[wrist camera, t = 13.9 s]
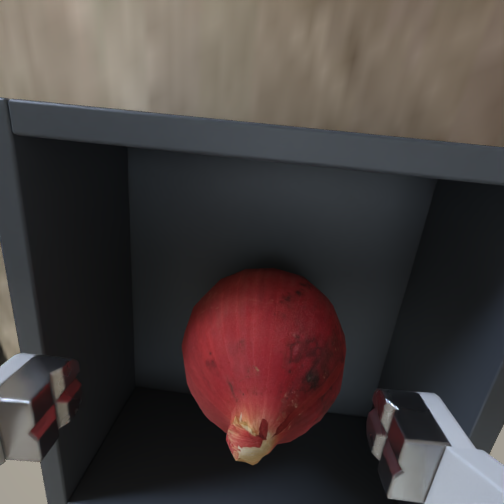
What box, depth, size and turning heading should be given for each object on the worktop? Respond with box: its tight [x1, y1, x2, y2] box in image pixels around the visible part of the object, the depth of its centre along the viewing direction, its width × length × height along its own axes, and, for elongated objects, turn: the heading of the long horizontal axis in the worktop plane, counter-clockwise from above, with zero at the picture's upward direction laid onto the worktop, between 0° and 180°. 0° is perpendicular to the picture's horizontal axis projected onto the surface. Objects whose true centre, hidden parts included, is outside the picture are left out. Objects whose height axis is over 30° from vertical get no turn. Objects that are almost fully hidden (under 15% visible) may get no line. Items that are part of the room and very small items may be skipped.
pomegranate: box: [182, 268, 346, 465], centre depth 11 cm, size 6×6×8 cm
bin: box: [0, 97, 504, 504], centre depth 12 cm, size 15×15×7 cm
